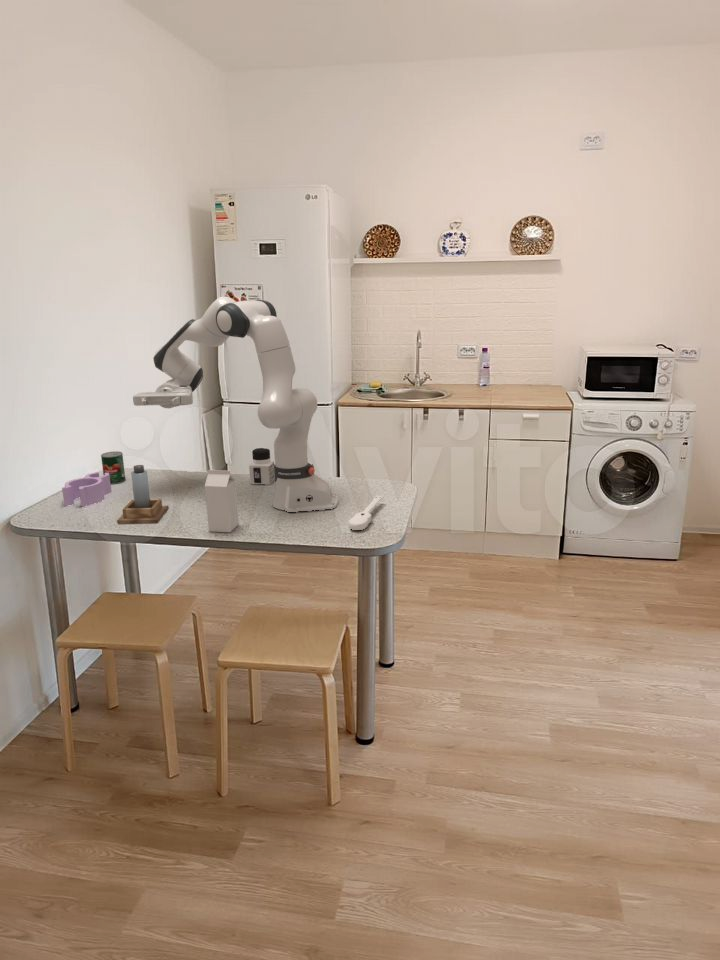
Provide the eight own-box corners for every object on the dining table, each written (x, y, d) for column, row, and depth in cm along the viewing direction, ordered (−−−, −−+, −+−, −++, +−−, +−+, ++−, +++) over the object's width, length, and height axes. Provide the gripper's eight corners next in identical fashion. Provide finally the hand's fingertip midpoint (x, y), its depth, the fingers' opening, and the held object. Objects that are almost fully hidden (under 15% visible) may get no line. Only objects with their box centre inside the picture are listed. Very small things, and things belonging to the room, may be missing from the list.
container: (270, 485, 267) (267, 451, 263) (250, 484, 268) (247, 451, 264) (275, 479, 274) (273, 446, 270) (256, 478, 275) (254, 446, 272)
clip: (89, 489, 268) (87, 471, 266) (120, 490, 265) (117, 472, 263) (58, 506, 249) (55, 488, 247) (90, 508, 246) (87, 489, 244)
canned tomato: (106, 485, 271) (102, 457, 268) (102, 480, 278) (99, 453, 274) (127, 482, 275) (124, 454, 271) (123, 477, 281) (120, 450, 278)
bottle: (153, 510, 239) (148, 464, 234) (149, 515, 234) (144, 468, 230) (138, 510, 239) (133, 464, 234) (133, 515, 234) (128, 468, 230)
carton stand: (168, 508, 244) (167, 497, 242) (157, 523, 230) (156, 510, 229) (130, 509, 244) (129, 497, 242) (117, 524, 230) (115, 511, 229)
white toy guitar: (371, 503, 244) (371, 495, 244) (388, 504, 243) (387, 496, 242) (345, 531, 219) (345, 523, 218) (363, 533, 217) (363, 524, 216)
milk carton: (230, 533, 220) (225, 474, 215) (208, 531, 222) (203, 473, 216) (238, 525, 227) (234, 467, 221) (217, 523, 228) (212, 466, 223)
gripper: (138, 387, 254) (126, 394, 241) (195, 386, 254) (186, 392, 241) (140, 404, 256) (128, 412, 243) (197, 403, 256) (188, 411, 243)
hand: (157, 402), depth 242 cm, fingers open, 8 cm apart
